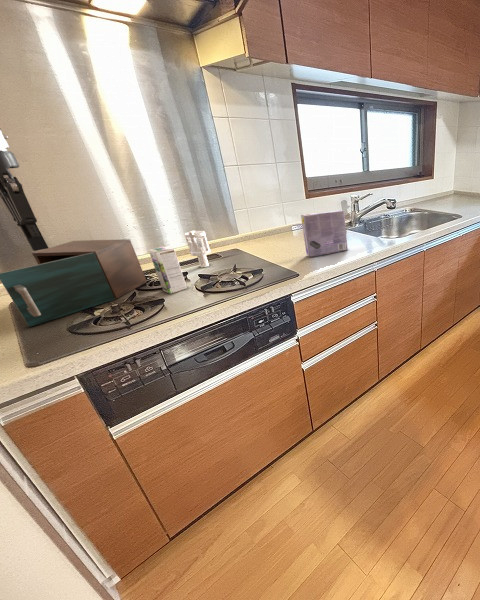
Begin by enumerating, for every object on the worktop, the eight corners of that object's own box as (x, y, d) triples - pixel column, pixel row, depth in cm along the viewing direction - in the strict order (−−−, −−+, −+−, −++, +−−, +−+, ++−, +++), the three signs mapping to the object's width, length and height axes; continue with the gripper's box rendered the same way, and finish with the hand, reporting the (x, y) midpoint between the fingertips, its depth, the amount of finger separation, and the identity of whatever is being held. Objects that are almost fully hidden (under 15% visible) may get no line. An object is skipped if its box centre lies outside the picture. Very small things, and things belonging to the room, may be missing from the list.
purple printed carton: (346, 247, 151) (341, 208, 144) (350, 249, 147) (346, 210, 140) (306, 255, 142) (299, 214, 134) (309, 258, 138) (303, 216, 130)
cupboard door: (122, 302, 102) (101, 255, 96) (35, 331, 87) (2, 277, 80) (113, 298, 105) (92, 252, 98) (28, 326, 90) (-4, 273, 83)
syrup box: (162, 290, 111) (146, 249, 104) (180, 284, 115) (166, 245, 109) (169, 294, 108) (154, 252, 101) (188, 288, 112) (174, 247, 106)
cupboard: (116, 298, 106) (95, 251, 99) (57, 299, 106) (31, 253, 99) (147, 282, 118) (130, 239, 111) (94, 283, 119) (73, 240, 112)
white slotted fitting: (192, 269, 129) (179, 232, 123) (199, 264, 135) (187, 228, 129) (210, 268, 130) (199, 231, 124) (216, 262, 136) (206, 227, 130)
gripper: (19, 149, 75) (68, 248, 85) (3, 150, 81) (51, 242, 91) (-31, 150, 69) (28, 256, 79) (-44, 152, 75) (13, 250, 85)
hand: (40, 249), depth 85 cm, fingers closed
